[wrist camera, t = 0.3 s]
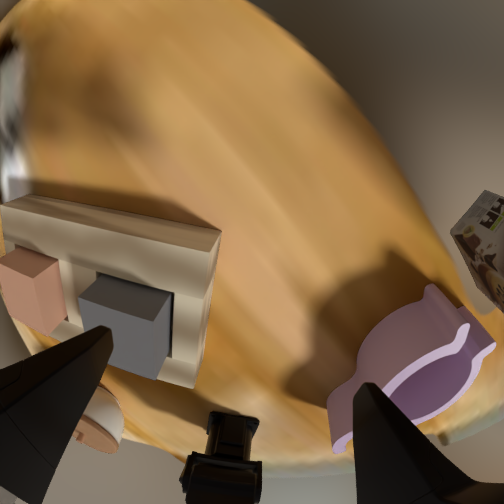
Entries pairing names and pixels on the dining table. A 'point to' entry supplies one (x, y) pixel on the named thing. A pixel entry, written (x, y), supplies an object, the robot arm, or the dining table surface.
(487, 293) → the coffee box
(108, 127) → the dining table surface
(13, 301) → the terracotta button
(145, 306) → the charcoal button
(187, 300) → the button console
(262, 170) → the dining table surface
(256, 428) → the robot arm
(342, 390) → the mauve piece
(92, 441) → the lidded jar
